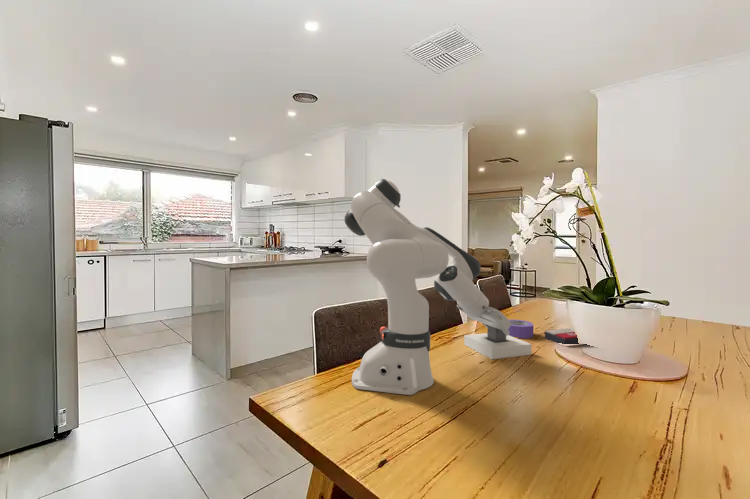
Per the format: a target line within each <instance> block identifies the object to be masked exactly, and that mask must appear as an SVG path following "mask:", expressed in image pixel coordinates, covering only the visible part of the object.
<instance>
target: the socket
mask: <svg viewBox="0 0 750 499" xmlns="http://www.w3.org/2000/svg"><path fill="white" fill-rule="evenodd" d="M487 333H488V332H487ZM487 333H486V332H485V333H476V334H475V333H474V334H464V336H463V337H464V340H463V341H464V343H463V344H464V346H466V347H467V346H468V348H469V347H470V348H469V349H471V348H472V349H471V350H473V349H474V350H473V351H475V352H477V353H478V354H480V355H483V356H485V357H487V358H488V359H491V360H498V359H505V358H514V357H516V358H517V357H523V356H524V357H525V356H531V355H532V343H529V342H527V341H524V340H522V339H520V338H514V337H512V336H509V335H508V336H506V342H499V343H494V342H492V341H489V340H487Z"/></svg>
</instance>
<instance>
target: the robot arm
mask: <svg viewBox="0 0 750 499" xmlns="http://www.w3.org/2000/svg"><path fill="white" fill-rule="evenodd" d="M401 197H402V196H401V193H400V191H399V188H398V186H397V185H396V184H395V183H393V182H392V181H390V180H387V179H385V178H380V179H379V180H377V181H376V182H374V185H372V186H371V187H370V188H369V189H367V190H364V191H360V192H358V193H357V194H355V195H354V196H353V198H352V199H351V203H350V209H349V210H347V212H346V214H345V216H344V223H345V225H346V227H347V228H348V230H349V231H350V232H351V233H352V234H355V235H357V236H359V237H364V236H366V237H367V239H369V241H370V243H371V244H372V245H371V246H370V248H369V250H368V252H367V255H366V265H367V269H368V270H369V273H370V274H371V276H372V277H373V278H375V279H376V280H377V281H378V282H379V283H380V285H381V287H382V289H383V291H384V293H385V297H386V300H387V314H388V316H387V321H388V327H386V326H381V327H380V329H379V333H380V341H379V342H378V343H377V344H376V345H373V347H371V348H370V349H368V350H367V351H366V352H365V353H364V355H363V356H362V358H361V361H360V364H359V365H360V366H358V367H357V368H356V369H355V370H354V371H353V372H352V376H351V384H352V387H354V388H355V389H357V390H363V391H364V390H365V391H372V392H380V393H390V394H395V395H396V394H397V395H408V396H413V395H415V394H417V393H418V392H419V391H422V390H425V389H426V390H427V389H428V388H431V386H432V385H433V384H434V383H435V381H434V377H433V373H432V369H431V362H430V361H431V360H430V349H431V331H430V329H429V328H430V327H429V324H430V323H429V318H430V313H429V312H430V304H429V301H428V299H427V298H426V297H425V296H423V295H422V294H420V292H419V291H418V289H417V288H418V287H417V283H416V280H417V279H429V278H433V277H435V276H437V277H436V278H435V279H434V280H433V281H434V282H433V286H434V289H435V290H436V291H437V292H438V294H439V295H440V296H441V297H442V298H443V299H444V300H446V301H456V302H457V303H458V304H456V307H457V309H458V310H460V311H461V312H463V313H464V314H465V315H466V316H467V317H468V318H470V319H472V320H473V321H475V322H479V323H481V324H482V325H483V326H484V327H485V328H486V329H488V325H489V326H491V327H494V328H497V329H499V330H502V333H503V334H504V335H506V336H508V335H509V333H510V331H509V330H508V329H509V327H510V326H511V322H510V321H509V320H510V319H509V318H508V317H507V316H506V315H505V314H504V313H503V312H501V311H500V310H498V309H497V308H495V307H491V306H490V300H489V299H488V297H487V296H486V295H485V294H484V293H483V292H482V291H481V289H479V288H478V287H476V285H475V283H474V281H473V280H475V279H476V278H478V276H479V275H481V268H482V266H481V262H480V261H479V260H478V259H477V258H476V257H475V256H474V255H472V254H471V253H468V251H467V252H466V251H465V250H464V249H462V248H460V247H459V246H458V245H456V244H455V243H453V242H452V241H451V240H449V239H448V238H446V237H445V236H443V235H442V234H441V233H439V232H438V231H435V230H434V229H432V228H431V227H428V226H427V227H419V226H417V225H415V224H414V223H412V222H411V221H410V220H409V219H408V218H407V216H405V215H404V214H402V213H401V212H400V211H398V210H397V209H396V208H395V207H397V208H399V209H400V207H401V206H400V202H401ZM449 257H451V258H453V260H452V261H451V263H450V264H449V260H450V258H449ZM448 264H449V265H448Z"/></svg>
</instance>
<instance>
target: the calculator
mask: <svg viewBox="0 0 750 499" xmlns="http://www.w3.org/2000/svg"><path fill="white" fill-rule="evenodd" d="M573 328H574V327H571V328H559V329H550V330H546V331H544V339H546V340H548V341H551V342H553V343H555V342H556V344H557V343H562V344H579V343H578V338H577V335H576V334H575V332H574V330H573Z"/></svg>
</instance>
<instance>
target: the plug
mask: <svg viewBox="0 0 750 499" xmlns="http://www.w3.org/2000/svg"><path fill="white" fill-rule="evenodd" d="M487 340H489V341H492V342H494V343H499V342H506V335H504V334H503V333H502V330H499V329H497V328H494V327H491V326H489V325H488V328H487Z"/></svg>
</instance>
